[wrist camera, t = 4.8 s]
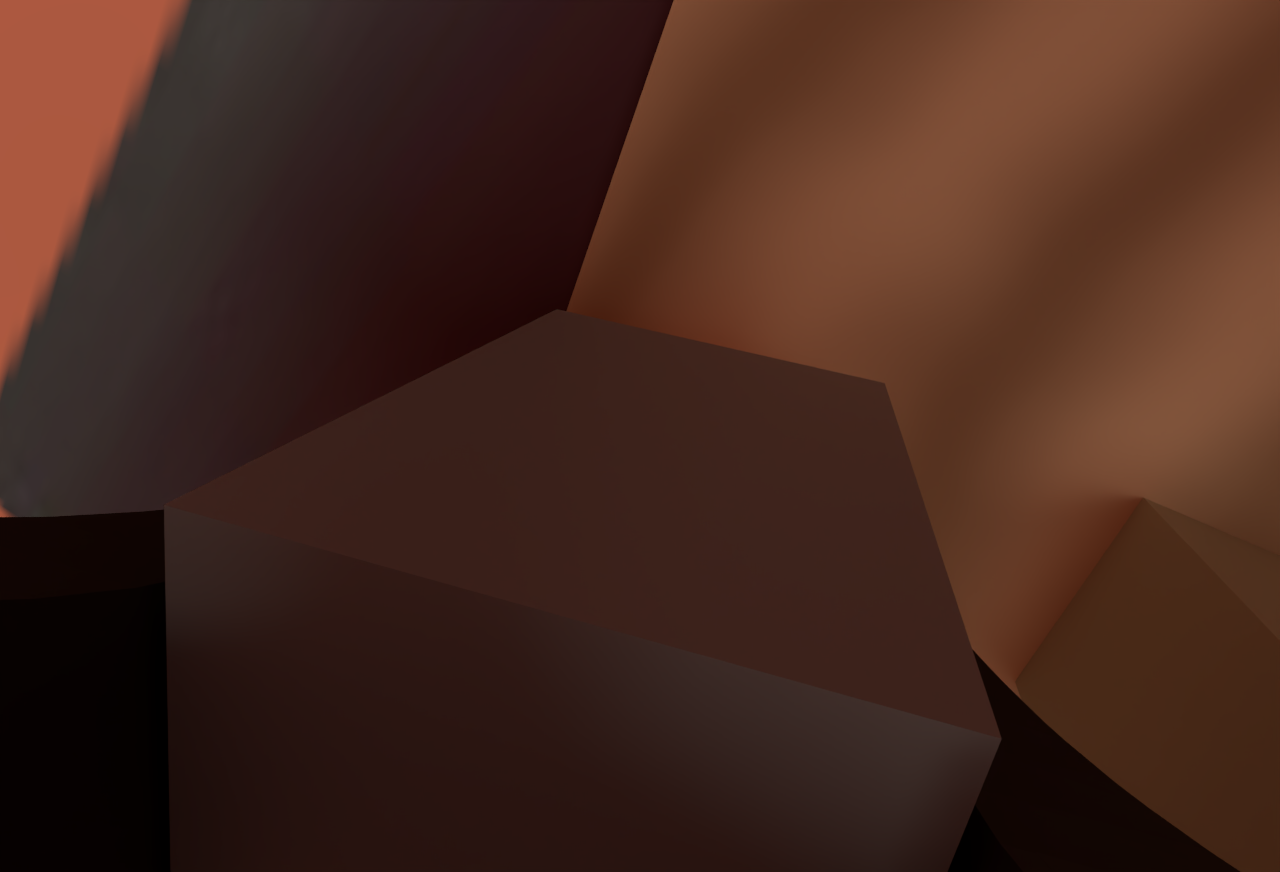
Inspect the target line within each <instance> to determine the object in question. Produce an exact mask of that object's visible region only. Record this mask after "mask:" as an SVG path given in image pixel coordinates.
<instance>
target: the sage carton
mask: <svg viewBox="0 0 1280 872" xmlns="http://www.w3.org/2000/svg"><path fill="white" fill-rule="evenodd" d="M1015 683H1016V686H1017V689H1018V691H1019V694H1020V697H1021V700H1022V701H1023V702H1024V703H1025V704H1026V705H1027V706H1028V707H1029V708H1030V709H1031V710H1033V711H1034V712H1035V713H1036V714H1037V715H1038V716H1039V717H1040V718H1041V719H1042V720H1043V721H1044V722H1045V723H1046V724H1047V725H1048V726H1049V727H1051V728H1052V729H1053V730H1054V731H1055V732H1056V733H1057V734H1058V735H1059V736H1061V737H1062V738H1063V739H1064V740H1065V741H1066V742H1067V743H1069V744H1070V745H1071V746H1072V747H1073V748H1075V749H1076V750H1077V751H1078V752H1079V753H1081V754H1082V755H1083V756H1084V757H1085V758H1087V759H1088V760H1089V761H1090V762H1091V763H1093V764H1094V765H1095V766H1096V767H1097V768H1099V769H1100V770H1101V771H1102V772H1103V773H1105V774H1106V775H1107V776H1108V777H1109V778H1111V779H1112V780H1113V781H1114V782H1116V783H1117V784H1118V785H1119V786H1121V787H1122V788H1123V789H1125V790H1126V791H1127V792H1129V793H1130V794H1131V795H1133V796H1134V797H1135V798H1136V799H1138V800H1139V801H1140V802H1142V803H1143V804H1144V805H1146V806H1147V807H1148V808H1150V809H1151V810H1153V811H1154V812H1155V813H1157V814H1158V815H1160V816H1161V817H1162V818H1164V819H1165V820H1167V821H1168V822H1169V823H1171V824H1172V825H1174V826H1175V827H1176V828H1178V829H1179V830H1181V831H1182V832H1183V833H1185V834H1186V835H1188V836H1189V837H1190V838H1192V839H1193V840H1195V841H1196V842H1197V843H1199V844H1200V845H1202V846H1203V847H1204V848H1206V849H1207V850H1209V851H1210V852H1212V853H1213V854H1215V855H1216V856H1218V857H1219V858H1221V859H1222V860H1224V861H1225V862H1227V863H1228V864H1230V865H1231V866H1233V867H1234V868H1236V869H1237V870H1239V871H1240V872H1280V555H1277V554H1275V553H1273V552H1270V551H1268V550H1266V549H1263V548H1261V547H1259V546H1256V545H1254V544H1251V543H1249V542H1247V541H1244V540H1242V539H1240V538H1237V537H1235V536H1233V535H1230V534H1228V533H1226V532H1223V531H1221V530H1219V529H1216V528H1214V527H1211V526H1209V525H1207V524H1204V523H1202V522H1200V521H1197V520H1195V519H1193V518H1190V517H1188V516H1186V515H1183V514H1181V513H1179V512H1176V511H1174V510H1172V509H1169V508H1167V507H1164V506H1162V505H1160V504H1157V503H1155V502H1153V501H1150V500H1148V499H1146V498H1142V500H1141V501H1140V503H1139V504H1138V506H1137V507H1136V508H1135V510H1134V511H1133V513H1132V514H1131V516H1130V517H1129V519H1128V520H1127V521H1126V523H1125V524H1124V526H1123V527H1122V529H1121V530H1120V531H1119V533H1118V534H1117V536H1116V537H1115V539H1114V540H1113V542H1112V543H1111V544H1110V546H1109V547H1108V549H1107V550H1106V552H1105V553H1104V554H1103V556H1102V557H1101V559H1100V560H1099V562H1098V563H1097V564H1096V566H1095V567H1094V569H1093V570H1092V572H1091V573H1090V575H1089V576H1088V577H1087V579H1086V580H1085V582H1084V583H1083V585H1082V586H1081V587H1080V589H1079V590H1078V592H1077V593H1076V595H1075V596H1074V598H1073V599H1072V600H1071V602H1070V603H1069V605H1068V606H1067V608H1066V609H1065V610H1064V612H1063V613H1062V615H1061V616H1060V618H1059V619H1058V621H1057V622H1056V623H1055V625H1054V626H1053V628H1052V629H1051V631H1050V632H1049V633H1048V635H1047V636H1046V638H1045V639H1044V641H1043V642H1042V644H1041V645H1040V646H1039V648H1038V649H1037V651H1036V652H1035V654H1034V655H1033V656H1032V658H1031V659H1030V661H1029V662H1028V664H1027V665H1026V667H1025V668H1024V669H1023V671H1022V672H1021V674H1020V675H1019V677H1018V678H1017V679H1016V681H1015Z"/></svg>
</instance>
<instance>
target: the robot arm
mask: <svg viewBox="0 0 1280 872" xmlns="http://www.w3.org/2000/svg"><path fill="white" fill-rule="evenodd" d="M972 650H973V649H972ZM973 653H974V656H975V659H976V662H977V665H978V668H979V671H980V674H981V678H982V681H983V684H984V687H985V690H986V693H987V696H988V699H989V702H990V705H991V708H992V711H993V714H994V717H995V720H996V723H997V726H998V729H999V732H1000V735H1001V738H1002V739H1001V742H1000V744H999V747H998V749H997V751H996V754H995V756H994V759H993V761H992V764H991V766H990V769H989V771H988V774H987V776H986V778H985V781H984V783H983V786H982V788H981V791H980V793H979V796H978V798H977V801H976V803H975V805H974V808H973V810H972V813H971V815H970V818H969V820H968V823H967V825H966V828H965V830H964V832H963V835H962V837H961V840H960V842H959V845H958V847H957V850H956V852H955V855H954V857H953V859H952V862H951V864H950V867H949V869H948V872H1240V871H1239V870H1237V869H1236V868H1234V867H1233V866H1231V865H1230V864H1228V863H1227V862H1225V861H1224V860H1222V859H1221V858H1219V857H1218V856H1216V855H1215V854H1213V853H1212V852H1210V851H1209V850H1207V849H1206V848H1204V847H1203V846H1202V845H1200V844H1199V843H1197V842H1196V841H1195V840H1193V839H1192V838H1190V837H1189V836H1188V835H1186V834H1185V833H1183V832H1182V831H1181V830H1179V829H1178V828H1176V827H1175V826H1174V825H1172V824H1171V823H1169V822H1168V821H1167V820H1165V819H1164V818H1162V817H1161V816H1160V815H1158V814H1157V813H1155V812H1154V811H1153V810H1151V809H1150V808H1148V807H1147V806H1146V805H1144V804H1143V803H1142V802H1140V801H1139V800H1138V799H1136V798H1135V797H1134V796H1133V795H1131V794H1130V793H1129V792H1127V791H1126V790H1125V789H1123V788H1122V787H1121V786H1119V785H1118V784H1117V783H1116V782H1114V781H1113V780H1112V779H1111V778H1109V777H1108V776H1107V775H1106V774H1105V773H1103V772H1102V771H1101V770H1100V769H1099V768H1097V767H1096V766H1095V765H1094V764H1093V763H1091V762H1090V761H1089V760H1088V759H1087V758H1085V757H1084V756H1083V755H1082V754H1081V753H1079V752H1078V751H1077V750H1076V749H1075V748H1073V747H1072V746H1071V745H1070V744H1069V743H1067V742H1066V741H1065V740H1064V739H1063V738H1062V737H1061V736H1059V735H1058V734H1057V733H1056V732H1055V731H1054V730H1053V729H1052V728H1051V727H1049V726H1048V725H1047V724H1046V723H1045V722H1044V721H1043V720H1042V719H1041V718H1040V717H1039V716H1038V715H1037V714H1036V713H1035V712H1034V711H1033V710H1031V709H1030V708H1029V707H1028V706H1027V705H1026V704H1025V703H1024V702H1023V701H1022V700H1021V699H1020V698H1019V697H1018V696H1017V695H1016V694H1015V693H1014V692H1013V691H1012V690H1011V689H1010V688H1009V687H1008V686H1007V685H1006V684H1005V683H1004V682H1003V681H1002V680H1001V679H1000V678H999V677H998V676H997V675H996V674H995V673H994V672H993V671H992V670H991V669H990V667H989V666H988V665H987V664H986V663H985V662H984V661H983V660H982V659H981V658H980V657H979V656H978V655H977V654H976V652H975V651H974V650H973ZM0 872H170V821H169V764H168V708H167V651H166V595H165V538H164V510H156V511H145V512H129V513H111V514H94V515H76V516H59V517H0Z"/></svg>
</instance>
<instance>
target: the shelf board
mask: <svg viewBox="0 0 1280 872" xmlns="http://www.w3.org/2000/svg"><path fill="white" fill-rule="evenodd" d="M567 312H572V313H576V314H581V315H585V316H589V317H594V318H598V319H603V320H607V321H612V322H616V323H621V324H625V325H629V326H634V327H638V328H643V329H647V330H652V331H656V332H661V333H665V334H669V335H674V336H678V337H683V338H687V339H692V340H696V341H700V342H705V343H709V344H714V345H718V346H723V347H727V348H732V349H736V350H740V351H745V352H749V353H754V354H758V355H763V356H767V357H772V358H776V359H780V360H785V361H789V362H794V363H798V364H803V365H807V366H812V367H816V368H820V369H825V370H829V371H834V372H838V373H843V374H847V375H852V376H856V377H860V378H865V379H869V380H874V381H878V382H883V383H885V385H886V388H887V392H888V395H889V398H890V401H891V404H892V407H893V410H894V413H895V416H896V419H897V422H898V425H899V428H900V431H901V434H902V437H903V440H904V443H905V446H906V449H907V452H908V455H909V458H910V461H911V465H912V468H913V471H914V474H915V477H916V480H917V483H918V486H919V489H920V492H921V495H922V498H923V501H924V504H925V507H926V510H927V513H928V516H929V519H930V522H931V525H932V528H933V531H934V535H935V538H936V541H937V544H938V547H939V550H940V553H941V556H942V559H943V562H944V565H945V568H946V571H947V574H948V577H949V580H950V583H951V586H952V589H953V592H954V595H955V598H956V601H957V604H958V608H959V611H960V614H961V617H962V620H963V623H964V626H965V629H966V632H967V635H968V638H969V641H970V644H971V647H972V649H973V650H974V651H975V652H976V654H977V655H978V656H979V657H980V658H981V659H982V660H983V661H984V662H985V663H986V664H987V665H988V666H989V667H990V669H991V670H992V671H993V672H994V673H995V674H996V675H997V676H998V677H999V678H1000V679H1001V680H1002V681H1003V682H1004V683H1005V684H1006V685H1007V686H1008V687H1009V688H1010V689H1011V690H1012V691H1013V692H1014V693H1015V694H1016V695H1017V696H1018V697H1019V698H1020V699H1021V697H1020V694H1019V691H1018V689H1017V686H1016V683H1015V681H1016V679H1017V678H1018V677H1019V675H1020V674H1021V672H1022V671H1023V669H1024V668H1025V667H1026V665H1027V664H1028V662H1029V661H1030V659H1031V658H1032V656H1033V655H1034V654H1035V652H1036V651H1037V649H1038V648H1039V646H1040V645H1041V644H1042V642H1043V641H1044V639H1045V638H1046V636H1047V635H1048V633H1049V632H1050V631H1051V629H1052V628H1053V626H1054V625H1055V623H1056V622H1057V621H1058V619H1059V618H1060V616H1061V615H1062V613H1063V612H1064V610H1065V609H1066V608H1067V606H1068V605H1069V603H1070V602H1071V600H1072V599H1073V598H1074V596H1075V595H1076V593H1077V592H1078V590H1079V589H1080V587H1081V586H1082V585H1083V583H1084V582H1085V580H1086V579H1087V577H1088V576H1089V575H1090V573H1091V572H1092V570H1093V569H1094V567H1095V566H1096V564H1097V563H1098V562H1099V560H1100V559H1101V557H1102V556H1103V554H1104V553H1105V552H1106V550H1107V549H1108V547H1109V546H1110V544H1111V543H1112V542H1113V540H1114V539H1115V537H1116V536H1117V534H1118V533H1119V531H1120V530H1121V529H1122V527H1123V526H1124V524H1125V523H1126V521H1127V520H1128V519H1129V517H1130V516H1131V514H1132V513H1133V511H1134V510H1135V508H1136V507H1137V506H1138V504H1139V503H1140V501H1141V500H1142V498H1146V499H1148V500H1150V501H1153V502H1155V503H1157V504H1160V505H1162V506H1164V507H1167V508H1169V509H1172V510H1174V511H1176V512H1179V513H1181V514H1183V515H1186V516H1188V517H1190V518H1193V519H1195V520H1197V521H1200V522H1202V523H1204V524H1207V525H1209V526H1211V527H1214V528H1216V529H1219V530H1221V531H1223V532H1226V533H1228V534H1230V535H1233V536H1235V537H1237V538H1240V539H1242V540H1244V541H1247V542H1249V543H1251V544H1254V545H1256V546H1259V547H1261V548H1263V549H1266V550H1268V551H1270V552H1273V553H1275V554H1277V555H1280V0H674V1H673V4H672V7H671V10H670V13H669V16H668V18H667V21H666V24H665V27H664V30H663V33H662V36H661V39H660V42H659V44H658V47H657V50H656V53H655V56H654V59H653V62H652V65H651V68H650V71H649V73H648V76H647V79H646V82H645V85H644V88H643V91H642V94H641V97H640V99H639V102H638V105H637V108H636V111H635V114H634V117H633V120H632V123H631V126H630V128H629V131H628V134H627V137H626V140H625V143H624V146H623V149H622V152H621V155H620V157H619V160H618V163H617V166H616V169H615V172H614V175H613V178H612V181H611V183H610V186H609V189H608V192H607V195H606V198H605V201H604V204H603V207H602V210H601V212H600V215H599V218H598V221H597V224H596V227H595V230H594V233H593V236H592V239H591V241H590V244H589V247H588V250H587V253H586V256H585V259H584V262H583V265H582V267H581V270H580V273H579V276H578V279H577V282H576V285H575V288H574V291H573V294H572V296H571V299H570V302H569V305H568V308H567Z"/></svg>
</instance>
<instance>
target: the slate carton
mask: <svg viewBox="0 0 1280 872" xmlns="http://www.w3.org/2000/svg"><path fill="white" fill-rule="evenodd" d="M164 538H165V595H166V651H167V708H168V764H169V821H170V872H948V869H949V867H950V864H951V862H952V859H953V857H954V855H955V852H956V850H957V847H958V845H959V842H960V840H961V837H962V835H963V832H964V830H965V828H966V825H967V823H968V820H969V818H970V815H971V813H972V810H973V808H974V805H975V803H976V801H977V798H978V796H979V793H980V791H981V788H982V786H983V783H984V781H985V778H986V776H987V774H988V771H989V769H990V766H991V764H992V761H993V759H994V756H995V754H996V751H997V749H998V747H999V744H1000V742H1001V739H1002V738H1001V735H1000V732H999V729H998V726H997V723H996V720H995V717H994V714H993V711H992V708H991V705H990V702H989V699H988V696H987V693H986V690H985V687H984V684H983V681H982V678H981V674H980V671H979V668H978V665H977V662H976V659H975V656H974V653H973V650H972V647H971V644H970V641H969V638H968V635H967V632H966V629H965V626H964V623H963V620H962V617H961V614H960V611H959V608H958V604H957V601H956V598H955V595H954V592H953V589H952V586H951V583H950V580H949V577H948V574H947V571H946V568H945V565H944V562H943V559H942V556H941V553H940V550H939V547H938V544H937V541H936V538H935V535H934V531H933V528H932V525H931V522H930V519H929V516H928V513H927V510H926V507H925V504H924V501H923V498H922V495H921V492H920V489H919V486H918V483H917V480H916V477H915V474H914V471H913V468H912V465H911V461H910V458H909V455H908V452H907V449H906V446H905V443H904V440H903V437H902V434H901V431H900V428H899V425H898V422H897V419H896V416H895V413H894V410H893V407H892V404H891V401H890V398H889V395H888V392H887V388H886V385H885V383H883V382H878V381H874V380H869V379H865V378H860V377H856V376H852V375H847V374H843V373H838V372H834V371H829V370H825V369H820V368H816V367H812V366H807V365H803V364H798V363H794V362H789V361H785V360H780V359H776V358H772V357H767V356H763V355H758V354H754V353H749V352H745V351H740V350H736V349H732V348H727V347H723V346H718V345H714V344H709V343H705V342H700V341H696V340H692V339H687V338H683V337H678V336H674V335H669V334H665V333H661V332H656V331H652V330H647V329H643V328H638V327H634V326H629V325H625V324H621V323H616V322H612V321H607V320H603V319H598V318H594V317H589V316H585V315H581V314H576V313H572V312H567V311H563V310H558V309H556V310H554V311H552V312H550V313H548V314H546V315H544V316H542V317H540V318H538V319H536V320H534V321H532V322H530V323H528V324H526V325H524V326H522V327H520V328H518V329H516V330H514V331H512V332H510V333H508V334H506V335H504V336H502V337H500V338H498V339H496V340H494V341H492V342H490V343H488V344H486V345H484V346H482V347H480V348H478V349H476V350H474V351H472V352H470V353H468V354H466V355H464V356H462V357H460V358H458V359H456V360H454V361H452V362H450V363H448V364H446V365H444V366H442V367H440V368H438V369H436V370H434V371H432V372H430V373H428V374H426V375H424V376H422V377H420V378H418V379H416V380H414V381H412V382H410V383H408V384H406V385H404V386H402V387H400V388H398V389H396V390H394V391H392V392H390V393H388V394H386V395H384V396H382V397H380V398H377V399H375V400H373V401H371V402H369V403H367V404H365V405H363V406H361V407H359V408H357V409H355V410H353V411H351V412H349V413H347V414H345V415H343V416H341V417H339V418H337V419H335V420H333V421H331V422H329V423H327V424H325V425H323V426H321V427H319V428H317V429H315V430H313V431H311V432H309V433H307V434H305V435H303V436H301V437H299V438H297V439H295V440H293V441H291V442H289V443H287V444H285V445H283V446H281V447H279V448H277V449H275V450H273V451H271V452H269V453H267V454H265V455H263V456H261V457H259V458H257V459H255V460H253V461H251V462H249V463H247V464H245V465H243V466H241V467H239V468H237V469H235V470H233V471H231V472H229V473H227V474H225V475H223V476H221V477H219V478H217V479H215V480H213V481H211V482H209V483H207V484H205V485H203V486H201V487H199V488H197V489H195V490H193V491H191V492H189V493H187V494H185V495H183V496H181V497H179V498H177V499H175V500H173V501H171V502H169V503H167V504H165V505H164Z"/></svg>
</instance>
